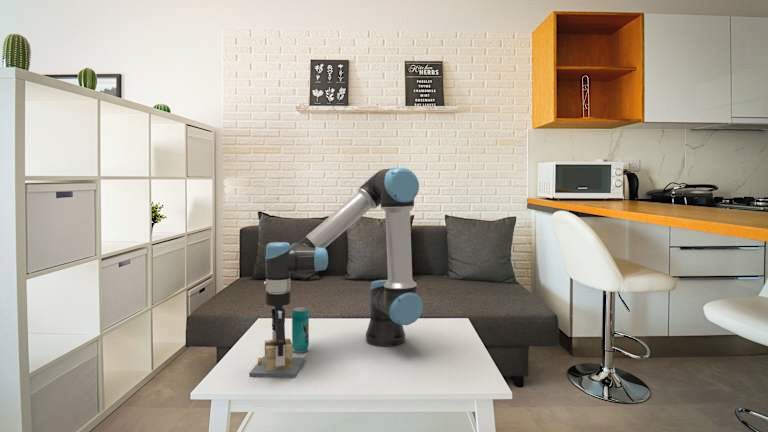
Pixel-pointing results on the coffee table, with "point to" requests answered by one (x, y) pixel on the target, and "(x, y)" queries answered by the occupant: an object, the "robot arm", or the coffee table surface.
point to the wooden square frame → (271, 355)
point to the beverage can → (300, 329)
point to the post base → (281, 373)
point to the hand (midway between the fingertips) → (278, 358)
